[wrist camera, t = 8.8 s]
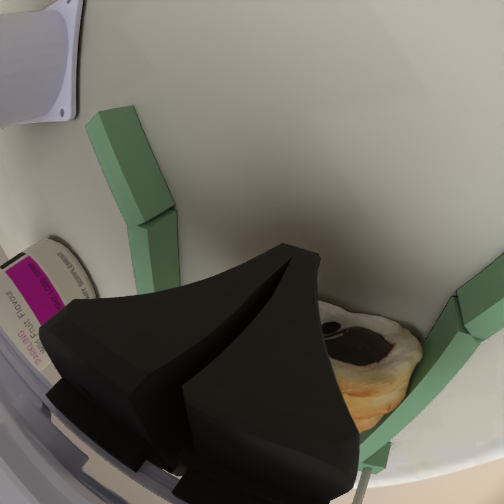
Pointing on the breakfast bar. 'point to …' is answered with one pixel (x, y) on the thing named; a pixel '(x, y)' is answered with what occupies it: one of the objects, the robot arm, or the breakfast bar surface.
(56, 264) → the supplement can
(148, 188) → the green bars
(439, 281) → the breakfast bar surface
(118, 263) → the breakfast bar surface
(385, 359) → the pastry
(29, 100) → the robot arm
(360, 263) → the breakfast bar surface
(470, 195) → the breakfast bar surface
